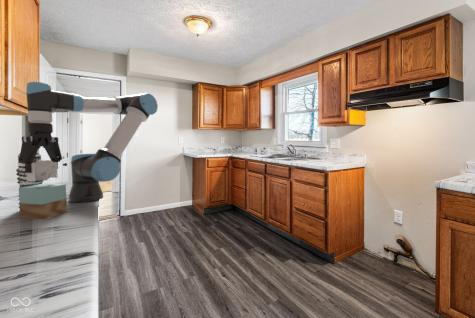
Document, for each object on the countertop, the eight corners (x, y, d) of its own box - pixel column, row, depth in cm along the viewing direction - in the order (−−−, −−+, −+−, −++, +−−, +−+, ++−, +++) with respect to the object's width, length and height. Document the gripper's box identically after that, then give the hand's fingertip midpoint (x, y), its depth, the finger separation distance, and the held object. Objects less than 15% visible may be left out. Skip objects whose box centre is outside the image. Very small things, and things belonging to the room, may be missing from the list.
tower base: (44, 211, 105) (44, 197, 105) (67, 212, 104) (66, 198, 104) (20, 218, 95) (19, 203, 95) (44, 220, 94) (43, 204, 93)
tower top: (45, 197, 105) (44, 183, 105) (66, 198, 103) (65, 184, 103) (19, 203, 95) (18, 187, 94) (42, 204, 93) (41, 188, 92)
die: (33, 183, 93) (52, 163, 95) (17, 172, 94) (35, 151, 96) (49, 187, 100) (65, 168, 103) (33, 177, 102) (50, 158, 104)
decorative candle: (50, 208, 109) (47, 151, 107) (24, 213, 101) (21, 152, 99) (39, 205, 113) (36, 151, 111) (14, 210, 105) (10, 152, 103)
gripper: (55, 124, 108) (57, 175, 110) (2, 120, 87) (6, 183, 88) (71, 124, 108) (73, 175, 109) (21, 120, 86) (24, 184, 87)
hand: (43, 179), depth 99 cm, fingers closed on die, 9 cm apart
